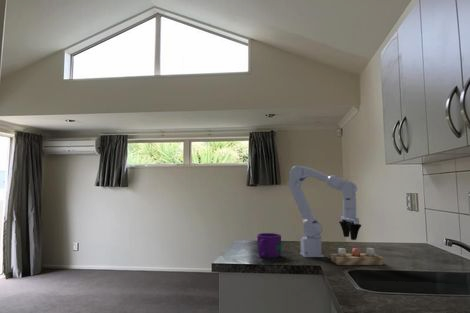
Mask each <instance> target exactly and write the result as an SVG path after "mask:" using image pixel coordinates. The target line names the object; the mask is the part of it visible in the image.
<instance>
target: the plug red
mask: <svg viewBox="0 0 470 313" xmlns="http://www.w3.org/2000/svg"><path fill="white" fill-rule="evenodd" d="M352 254H353V256H354V257H360V254H361V248H359V247H352Z"/></svg>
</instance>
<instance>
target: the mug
mask: <svg viewBox="0 0 470 313" xmlns="http://www.w3.org/2000/svg"><path fill="white" fill-rule="evenodd" d="M256 238H257V240H256V241H257V242H256V243H257V253H258V256H260V257H262V258H267V259H273V258H275V259H276V258H279V257H280V255H281V250H282V235H281V234H279V233H273V232H263V233H258V234H257V236H256Z"/></svg>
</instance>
